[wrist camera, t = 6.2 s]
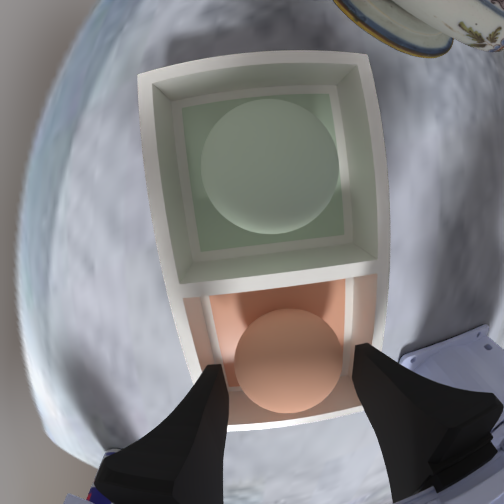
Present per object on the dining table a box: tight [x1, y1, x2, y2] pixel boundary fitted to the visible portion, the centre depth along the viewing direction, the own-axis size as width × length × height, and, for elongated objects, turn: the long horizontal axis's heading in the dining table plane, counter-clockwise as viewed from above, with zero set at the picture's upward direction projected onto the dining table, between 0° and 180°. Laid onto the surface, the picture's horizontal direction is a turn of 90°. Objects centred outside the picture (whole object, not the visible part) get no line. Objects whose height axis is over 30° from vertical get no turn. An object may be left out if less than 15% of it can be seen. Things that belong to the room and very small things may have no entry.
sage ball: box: [201, 99, 339, 234], centre depth 10 cm, size 5×5×5 cm
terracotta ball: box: [234, 309, 343, 413], centre depth 12 cm, size 5×5×5 cm
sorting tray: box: [137, 50, 390, 431], centre depth 12 cm, size 9×18×3 cm, turn 7°
